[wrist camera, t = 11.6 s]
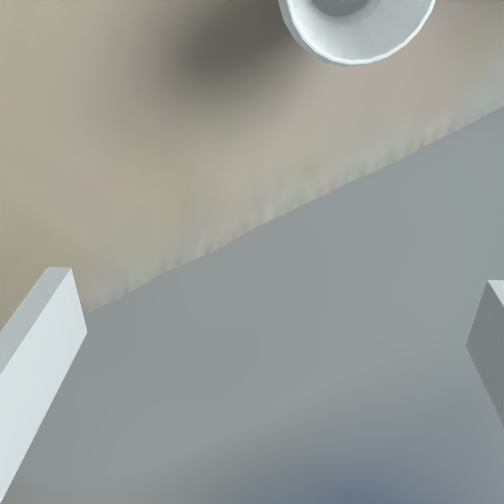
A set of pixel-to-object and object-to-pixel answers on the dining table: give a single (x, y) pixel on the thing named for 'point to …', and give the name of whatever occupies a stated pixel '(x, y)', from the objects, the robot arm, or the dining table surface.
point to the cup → (354, 27)
